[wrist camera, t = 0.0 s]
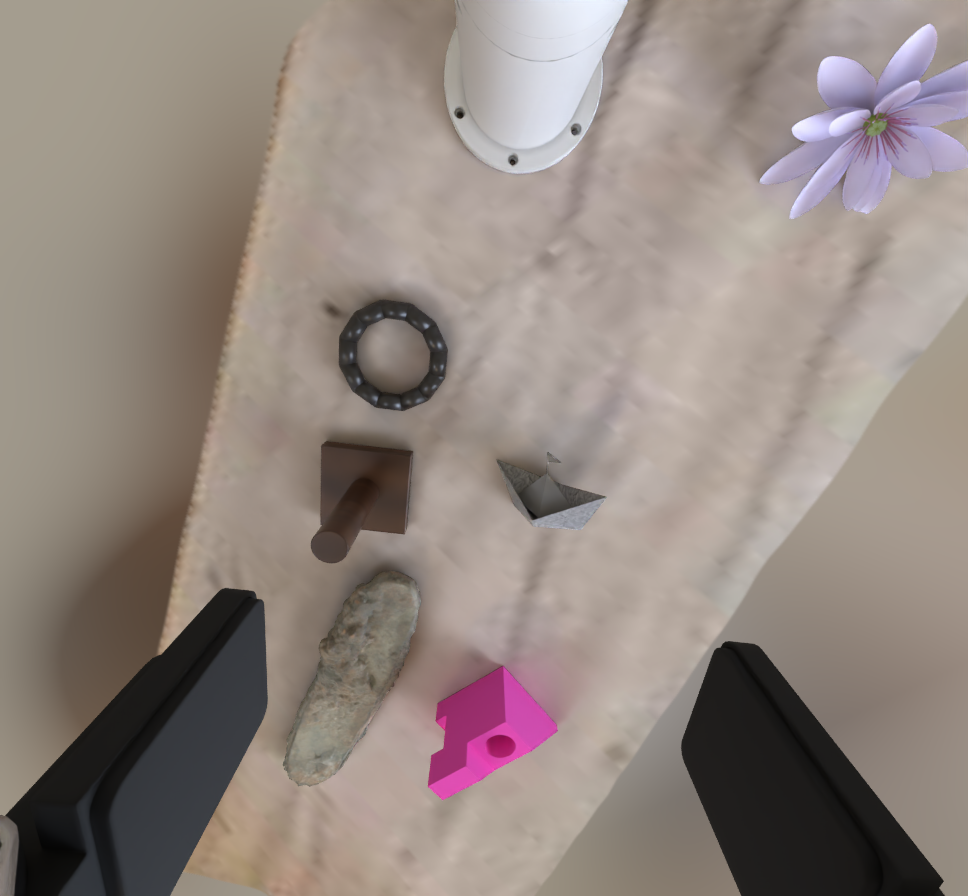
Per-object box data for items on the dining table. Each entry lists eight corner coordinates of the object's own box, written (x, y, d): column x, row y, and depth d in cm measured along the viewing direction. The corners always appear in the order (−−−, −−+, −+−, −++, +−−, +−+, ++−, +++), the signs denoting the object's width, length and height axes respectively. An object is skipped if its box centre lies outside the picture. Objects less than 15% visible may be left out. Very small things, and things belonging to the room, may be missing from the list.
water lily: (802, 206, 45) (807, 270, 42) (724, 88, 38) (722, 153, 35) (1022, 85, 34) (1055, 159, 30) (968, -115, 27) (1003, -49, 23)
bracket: (437, 703, 57) (427, 786, 48) (503, 665, 55) (506, 744, 46) (492, 758, 60) (494, 847, 51) (556, 725, 58) (570, 810, 49)
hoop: (343, 294, 42) (337, 294, 40) (452, 308, 42) (451, 308, 41) (340, 401, 45) (335, 404, 43) (442, 413, 45) (440, 417, 44)
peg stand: (326, 440, 46) (271, 490, 34) (413, 451, 47) (388, 503, 35) (325, 518, 49) (274, 588, 37) (407, 527, 49) (382, 600, 38)
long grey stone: (275, 745, 62) (345, 764, 63) (258, 787, 57) (334, 806, 58) (358, 551, 50) (441, 580, 51) (346, 582, 45) (438, 614, 47)
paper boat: (481, 523, 48) (476, 453, 43) (511, 490, 52) (509, 422, 47) (588, 567, 42) (597, 491, 37) (612, 525, 47) (622, 452, 42)
